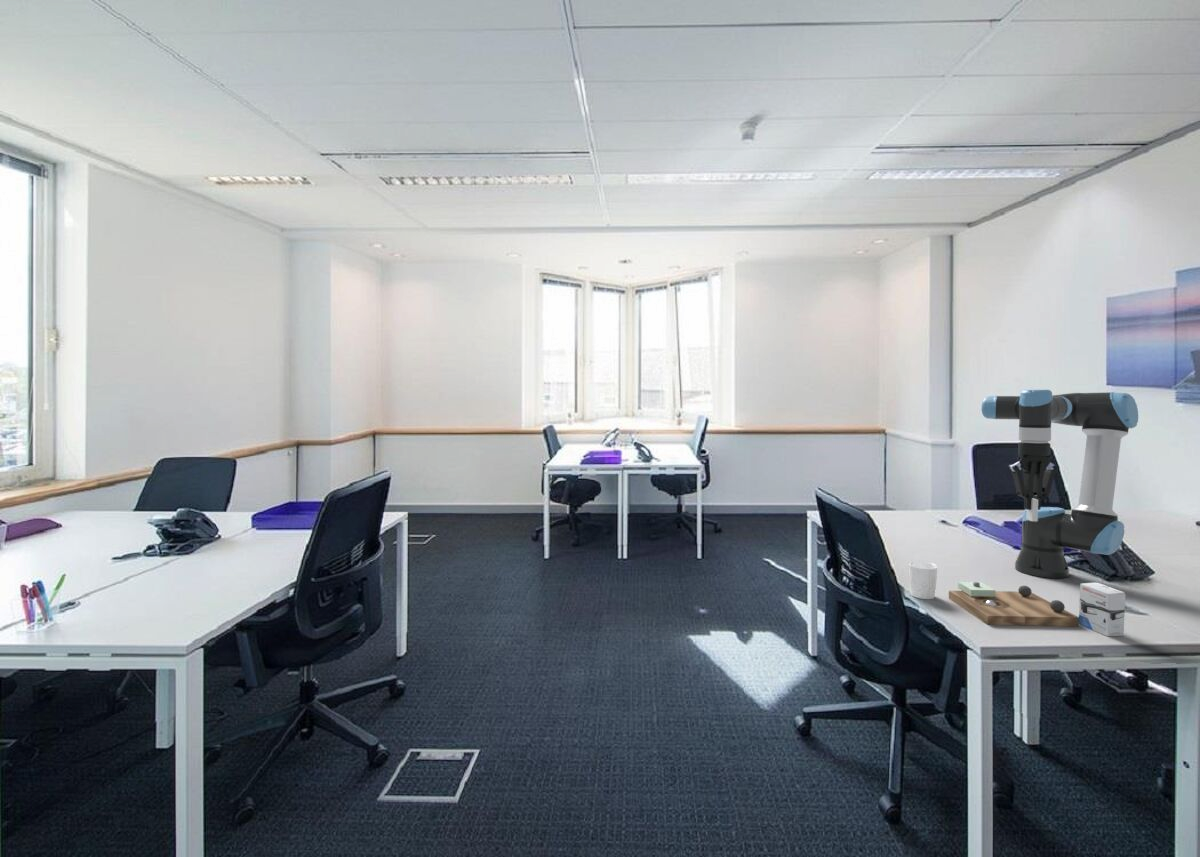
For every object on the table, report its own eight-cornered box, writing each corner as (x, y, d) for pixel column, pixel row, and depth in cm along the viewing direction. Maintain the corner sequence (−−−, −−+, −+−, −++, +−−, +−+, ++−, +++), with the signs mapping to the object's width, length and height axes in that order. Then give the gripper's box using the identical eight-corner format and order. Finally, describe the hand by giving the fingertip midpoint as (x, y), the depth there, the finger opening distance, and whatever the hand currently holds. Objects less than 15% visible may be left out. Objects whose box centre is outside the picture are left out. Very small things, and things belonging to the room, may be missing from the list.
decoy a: (1026, 594, 171) (1027, 584, 171) (1034, 598, 168) (1034, 587, 167) (1015, 594, 171) (1016, 584, 171) (1022, 598, 168) (1023, 587, 168)
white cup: (926, 602, 173) (927, 570, 172) (902, 594, 180) (903, 563, 179) (942, 597, 176) (942, 566, 176) (918, 589, 183) (918, 560, 183)
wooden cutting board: (1029, 599, 173) (1029, 591, 173) (1079, 626, 153) (1079, 617, 153) (948, 598, 175) (948, 590, 175) (987, 624, 155) (987, 615, 155)
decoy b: (1059, 609, 159) (1059, 598, 159) (1067, 613, 156) (1067, 602, 155) (1047, 609, 159) (1047, 598, 159) (1055, 613, 156) (1055, 602, 156)
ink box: (1077, 623, 155) (1078, 582, 154) (1093, 622, 155) (1095, 581, 155) (1107, 637, 147) (1109, 593, 146) (1124, 636, 147) (1126, 592, 146)
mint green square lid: (981, 588, 176) (981, 579, 175) (995, 596, 169) (995, 586, 168) (958, 588, 176) (958, 579, 176) (970, 596, 169) (971, 586, 169)
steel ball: (992, 597, 166) (981, 599, 166) (998, 602, 163) (987, 603, 163) (993, 607, 166) (982, 609, 166) (1000, 612, 163) (988, 614, 163)
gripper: (1048, 440, 168) (1046, 517, 169) (1002, 440, 169) (1000, 517, 170) (1067, 442, 160) (1064, 523, 162) (1019, 443, 161) (1016, 523, 163)
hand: (1031, 520), depth 166 cm, fingers closed
